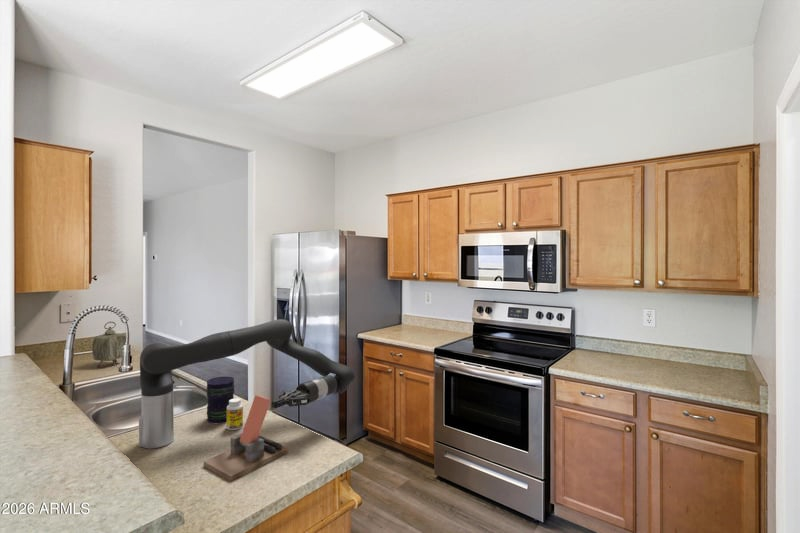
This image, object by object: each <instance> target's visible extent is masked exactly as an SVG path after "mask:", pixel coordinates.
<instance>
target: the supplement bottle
mask: <svg viewBox="0 0 800 533" xmlns="http://www.w3.org/2000/svg"><path fill="white" fill-rule="evenodd" d="M241 402H242V401H241V398H237V397H236V398H234V399H231V400H229V405H228V406H227V422H226V430H228V431H237V430H240V429H241V428H242V427H244V426H243V425H244V405H243V403H241Z"/></svg>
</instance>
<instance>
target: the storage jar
mask: <svg viewBox="0 0 800 533" xmlns="http://www.w3.org/2000/svg"><path fill="white" fill-rule="evenodd" d="M234 395H235V378H234V377H232V376H216V377H212V378H210V379H208V380H206V397H207V406H206V417H207V418H206V421H208V422H207V423H209V424H213V423H218V424H224V423H227V406H228V405H229V400H231V399H235V398H234ZM223 422H224V423H223Z"/></svg>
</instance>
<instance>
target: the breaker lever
mask: <svg viewBox="0 0 800 533" xmlns="http://www.w3.org/2000/svg"><path fill="white" fill-rule="evenodd" d="M271 402H272V399H271V398H267V397H265V396H260V395H256V394H254V397H253V401H252V404H251V407H250V410H249V412H248V414H247V419H246V421H245V423H244V426H243V428H242V432H241V433H242V435H241V437H240V440H239V441H240V444H241V445H243V446H245V447H246V444H247V443H250V442H252V441H254V440H257V439H258V436H259V435H260V433H261V430H262V427H263V424H264V421H265V418H266V415H267V412H268V410H269V407H270V404H271Z"/></svg>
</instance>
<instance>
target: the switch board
mask: <svg viewBox="0 0 800 533" xmlns="http://www.w3.org/2000/svg"><path fill="white" fill-rule="evenodd" d="M241 435H242V432H241V433H238V434H236V435H235V434H234V435H233V436H231V437H230V449H229V450H227V451H224V452H222V453H220V454H218V455H215V456H213V457H210V458H209V459H206V460H204V461H203V467H204V468H206V469H207V470H209V471H212V472H213V473H215V474H216V475H219V476H221V477H223V478H224V479H225V480H228V481H229V482H233V481H235V480H237V479H239V478H241V477H243V476H244V475H247V474H248V473H251V472H252V470H253V471H254V470H255V471H256V468H257V469H258V467H259V468H261V467H262V465H263V466H264V464H265V465H267V464H268V462H269V463H270V461H271V462H273V461H274V459H275V460H276V459H278V458H280V457H283V456H284V455H286V454H288V453H289V448H288V447H286V446H284V445H283V444H282V443H279V442H276V441H274V440H271V439H269V438H267V437H265V436H262V435H260V434H259V436H258V439H257V440H254V441H252V442H250V443H247V444H246V447H245V446H243V445H241V444H240V441H239V440H240V437H241ZM272 460H273V461H272ZM266 463H267V464H266ZM260 466H261V467H260Z"/></svg>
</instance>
